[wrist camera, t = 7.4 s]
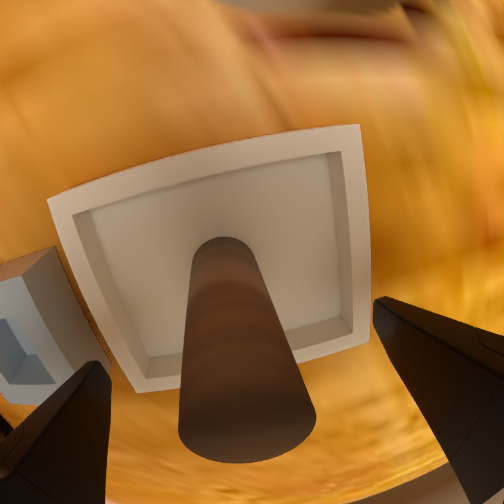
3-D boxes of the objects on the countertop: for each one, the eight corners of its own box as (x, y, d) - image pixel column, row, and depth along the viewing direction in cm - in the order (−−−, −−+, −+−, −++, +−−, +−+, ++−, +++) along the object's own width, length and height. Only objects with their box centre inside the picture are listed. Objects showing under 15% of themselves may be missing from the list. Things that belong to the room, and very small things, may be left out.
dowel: (261, 287, 15) (318, 446, 6) (201, 301, 14) (203, 470, 6) (249, 229, 13) (312, 370, 5) (184, 245, 13) (156, 403, 5)
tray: (353, 318, 17) (369, 341, 15) (142, 366, 16) (136, 393, 14) (336, 124, 13) (359, 123, 11) (69, 188, 12) (46, 199, 10)
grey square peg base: (111, 364, 16) (98, 405, 13) (27, 371, 16) (9, 403, 12) (54, 246, 13) (21, 275, 10) (-27, 275, 13) (-56, 300, 9)
